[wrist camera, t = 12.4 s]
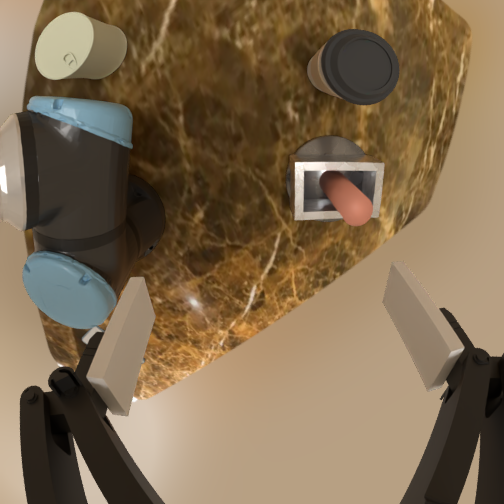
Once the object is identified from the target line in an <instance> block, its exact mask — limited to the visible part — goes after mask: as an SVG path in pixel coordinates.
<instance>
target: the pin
mask: <svg viewBox="0 0 504 504" xmlns="http://www.w3.org/2000/svg"><path fill="white" fill-rule="evenodd" d="M319 185H320V187H321V189H322V190H323V192H324V193H325V194H326V196H327V197H328V198H329V200H330V201H331V202H332V204H333V205H334V206H335V208H336V209H337V210H338V212H339V213H340V215H341V216H342V217H343V219H344V220H345V221H346V222H347V223H348V224H349V225H352V226H360V225H363V224H364V223H366V222H367V221H368V220H369V219H370V217H371V215H372V212H373V205H372V203H371V201H370V200H369V199H368V198H367V197H366V196H365V195H364V194H363V193H362V192H361V191H360V190H359V189H358V188H357V187H356V186H355V185H354V184H353V183H352V182H350V181H349V180H348V179H347V178H346V177H345V176H344V175H343V174H342V173H341V172H339V171H338V170H326V171H325V172H323V173H322V175H321V176H320V179H319Z"/></svg>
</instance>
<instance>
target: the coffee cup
mask: <svg viewBox="0 0 504 504" xmlns="http://www.w3.org/2000/svg"><path fill="white" fill-rule="evenodd" d="M307 74H308V77H309V80H310V82H311V83H312V84H313V85H314V86H315V87H316V88H317V89H319V90H320V91H323V92H325V93H327V94H329V95H332V96H335V97H338V98H341V99H343V100H346V101H348V102H350V103H353V104H357V105H371V104H375V103H378V102H380V101H381V100H383V99H384V98H386V97H387V96H388V95H389V94H390V93H391V92H392V91H393V89H394V88H395V86H396V84H397V81H398V78H399V63H398V59H397V56H396V54H395V52H394V50H393V49H392V47H391V46H390V45H389V44H388V43H387V42H386V41H385V40H384V39H383V38H381V37H380V36H378V35H376V34H374V33H372V32H369V31H365V30H358V29H349V30H344V31H341V32H339V33H337V34H335V35H334V36H332V37H331V38H330V39H329V40H328V42H326V43H325V44H324V45H323V46H322V47H321V48H320V49H319V50H318V51H317V53H316V54H315V55H314V56H313V57H312V58H311V60H310V61H309V63H308V67H307Z"/></svg>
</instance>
